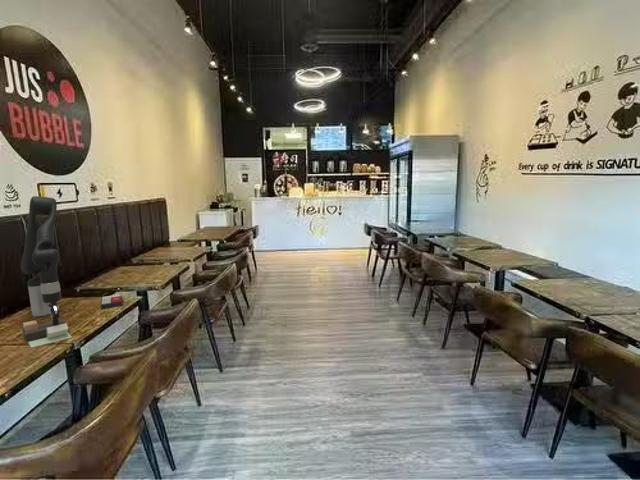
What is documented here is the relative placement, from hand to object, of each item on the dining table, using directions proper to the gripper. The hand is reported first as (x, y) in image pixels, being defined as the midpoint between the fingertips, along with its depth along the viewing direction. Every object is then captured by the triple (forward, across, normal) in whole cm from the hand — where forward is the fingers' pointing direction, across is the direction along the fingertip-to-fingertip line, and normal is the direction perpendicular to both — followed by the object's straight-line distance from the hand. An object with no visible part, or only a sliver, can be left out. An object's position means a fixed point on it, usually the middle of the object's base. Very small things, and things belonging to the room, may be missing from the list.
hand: (56, 326), depth 193 cm
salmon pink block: (+1, +8, +9) cm, 12 cm away
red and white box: (+6, +35, -34) cm, 49 cm away
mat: (+5, -4, +4) cm, 7 cm away
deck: (+5, +8, +4) cm, 10 cm away
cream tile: (0, -2, 0) cm, 2 cm away
